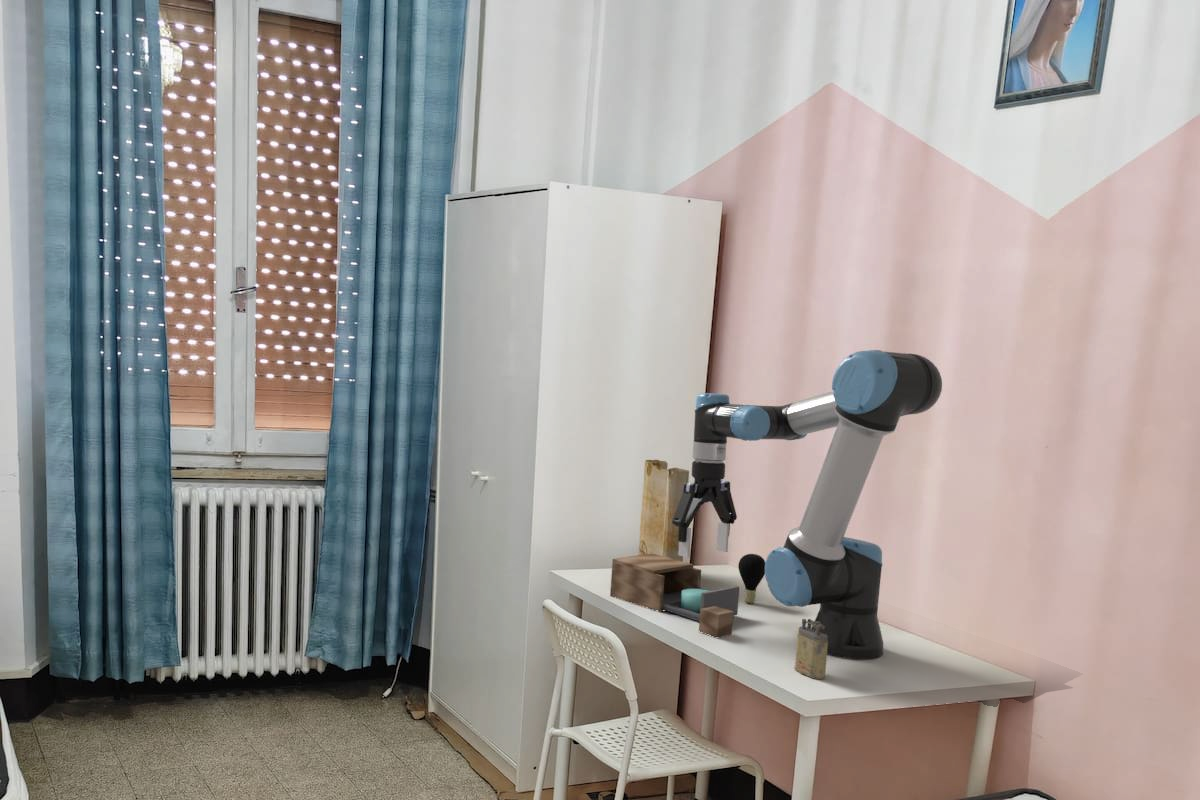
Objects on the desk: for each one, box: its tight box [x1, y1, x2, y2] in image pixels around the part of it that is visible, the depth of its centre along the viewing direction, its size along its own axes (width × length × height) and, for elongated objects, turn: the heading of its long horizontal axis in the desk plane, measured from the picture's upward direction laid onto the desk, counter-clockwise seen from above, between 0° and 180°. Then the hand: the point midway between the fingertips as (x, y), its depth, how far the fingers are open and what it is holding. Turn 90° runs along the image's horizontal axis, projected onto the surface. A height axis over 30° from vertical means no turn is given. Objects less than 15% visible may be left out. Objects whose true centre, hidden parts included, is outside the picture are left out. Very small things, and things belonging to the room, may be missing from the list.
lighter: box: [793, 618, 828, 680], centre depth 186 cm, size 7×4×10 cm, turn 28°
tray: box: [662, 585, 740, 622], centre depth 226 cm, size 18×13×6 cm
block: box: [698, 606, 734, 638], centre depth 209 cm, size 5×5×5 cm
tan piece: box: [638, 459, 690, 562], centre depth 258 cm, size 23×6×30 cm, turn 13°
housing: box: [609, 553, 702, 612], centre depth 234 cm, size 16×14×9 cm
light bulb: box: [738, 553, 766, 604], centre depth 237 cm, size 7×7×12 cm
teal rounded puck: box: [680, 588, 710, 613], centre depth 224 cm, size 8×8×4 cm
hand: (703, 553), depth 223 cm, fingers open, 13 cm apart
